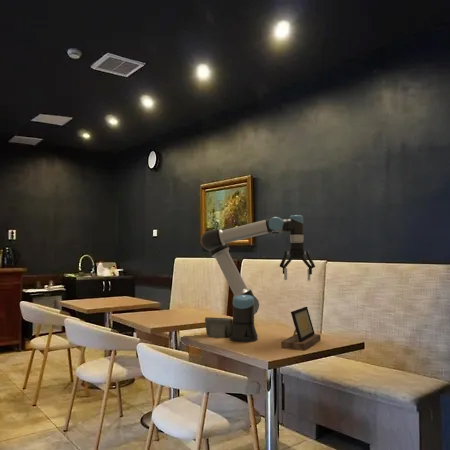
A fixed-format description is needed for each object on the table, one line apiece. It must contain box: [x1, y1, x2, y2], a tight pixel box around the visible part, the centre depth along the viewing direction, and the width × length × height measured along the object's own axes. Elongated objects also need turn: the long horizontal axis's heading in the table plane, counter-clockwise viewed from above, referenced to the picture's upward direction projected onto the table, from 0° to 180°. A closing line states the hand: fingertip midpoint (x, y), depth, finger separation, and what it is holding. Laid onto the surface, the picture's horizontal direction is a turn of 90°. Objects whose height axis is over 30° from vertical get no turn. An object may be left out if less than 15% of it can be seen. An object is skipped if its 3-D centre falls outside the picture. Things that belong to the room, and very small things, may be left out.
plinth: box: [280, 333, 321, 351], centre depth 226 cm, size 12×28×3 cm, turn 152°
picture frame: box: [290, 306, 316, 342], centre depth 229 cm, size 23×9×15 cm, turn 152°
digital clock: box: [204, 316, 233, 339], centre depth 247 cm, size 16×9×11 cm, turn 63°
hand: (297, 280), depth 246 cm, fingers open, 13 cm apart
